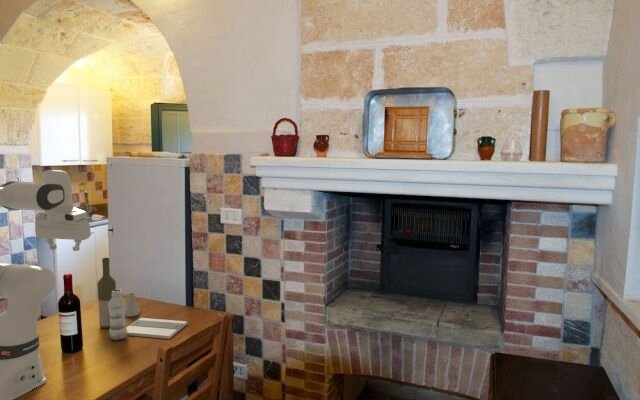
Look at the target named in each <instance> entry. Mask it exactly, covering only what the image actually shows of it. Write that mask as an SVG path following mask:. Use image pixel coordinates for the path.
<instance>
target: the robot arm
mask: <svg viewBox="0 0 640 400" xmlns="http://www.w3.org/2000/svg"><path fill="white" fill-rule="evenodd" d="M72 196H73V189H72V182H71V178H70V176H69V173H68V172H67V171H66V170H60V169H58V170H56V169H46V170H44V171H43V174H42V176H41V178H40V179H38V180H36V181H35V182H33V181H18V180H10V181H7V182H5V183H3V184H2V185H0V208H4V209H7V210H9V211H20V210H21V211H22V210H23V211H44V213H43V212H38V213H37V214H36V215H35V224H34V226H35V227H34V231H35V232H34V233H35V234H34V235H35V236H36V238H37V239H38V238H39V239H45V241H46V243H47V244H48V245H49V250H52V251H53V250H57V248H58V247H57V244H56V243H55V242H54V241H53V240H54V239H55V240H56V239H57V240H73V241H74V243H75V244H74V245H73V246H72V251H73V252H78V251H80V245H81V244H82V242H83V241H85V240H88V239H89V238H90V237H91V233H92V231H91V226H90V221H89V220H88V218H87V217H88V212H87V211H85V210H84V209H83V210H82V209H79V208H78V207H75V205H74V201H73V197H72ZM55 284H56V277H55V274H54V272H53V271H52V270H51V269H49V268H46V267H44V266H39V265H36V264H35V265H34V264H17V263H5V262H0V299H3V300H4V299H7V300H8V301H7V302H8V304H7V308H6V310H4V311H2V312H0V400H16V399H18V398H19V397H21V396H23V395H25V394H27V393H29V392H30V391H32V389H33V390H35V389H36V387H37V388H39V387H41V386H42V385H44V384H46V383H47V378H46V373H45V371H44V368H43V362H42V357H41V354H40V350H39V347H40V337H39V336H40V335H39V334H38V311H39V308H40V306H41V304H42V303H43V301H44V299H46V298H48V296H49V295H51V293H52V292H53V290H54V288H55V286H56V285H55ZM34 388H35V389H34Z"/></svg>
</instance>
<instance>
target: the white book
mask: <svg viewBox="0 0 640 400" xmlns="http://www.w3.org/2000/svg"><path fill="white" fill-rule="evenodd" d="M186 325H188V321H187V320H186V321H184V320H175V319H174V320H173V319H172V320H171V319H162V318H161V319H160V318H159V319H158V318H148V317H140V318H138V319H136V320H134V321H132V322H131V323H130V324H129V325H128V326H126V328H127V336H133V337H145V338H156V339H167V340H170V339H171V338H172V337H173V336H175V335H176V334H177V333H178V332H180V331H181V330H182V329H183V328H184V327H186Z"/></svg>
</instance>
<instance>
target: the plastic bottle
mask: <svg viewBox="0 0 640 400" xmlns="http://www.w3.org/2000/svg"><path fill="white" fill-rule="evenodd" d="M126 305H127V302H126V299H125V298H124V297H123V290H122V289H116V290H113V291H112V298H111V299H110V301H109V303H108V308H109V313H110V328H109V331H108V336H109V338H110V339H111V340H112V341H120V340H123V339H126V338H127V336H128V335H127V328H126V327H127V325H126V316H125V308H126Z"/></svg>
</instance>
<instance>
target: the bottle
mask: <svg viewBox="0 0 640 400" xmlns="http://www.w3.org/2000/svg"><path fill="white" fill-rule="evenodd" d="M101 262H102V277H100V279H99V280H98V281H97V285H96V286H97V299H98V300H97V302H98V304H97V305H98V320H99V321H98V323H99V326H100V328H102V329H110V313H109V308H108V303H109V301H110V299H111V298H112V291H113V290H117V289H116V285H117V284H116V283H117V282H116V280H115V279H114V278H113V277H112V276H111V273H110V258H109V257H103V258H102V260H101Z"/></svg>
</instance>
